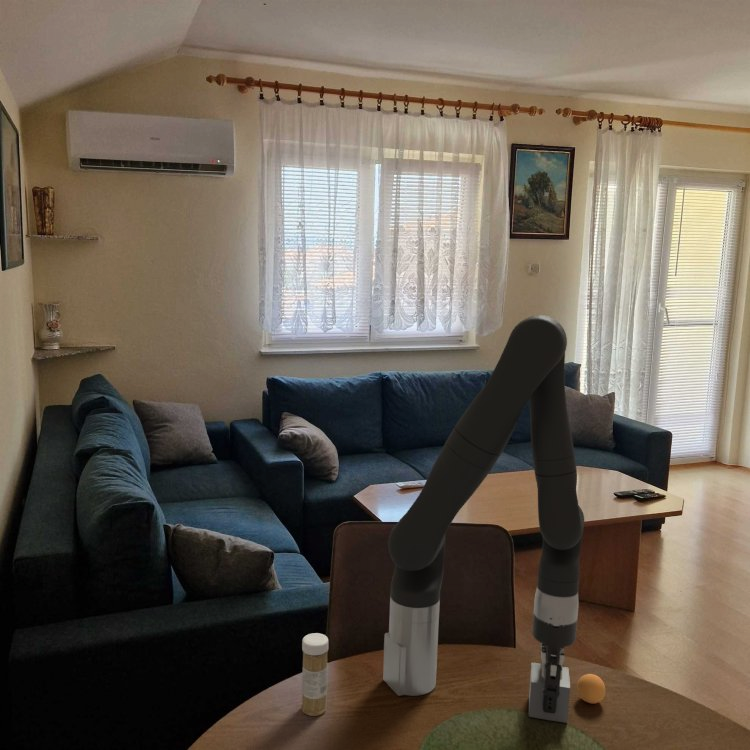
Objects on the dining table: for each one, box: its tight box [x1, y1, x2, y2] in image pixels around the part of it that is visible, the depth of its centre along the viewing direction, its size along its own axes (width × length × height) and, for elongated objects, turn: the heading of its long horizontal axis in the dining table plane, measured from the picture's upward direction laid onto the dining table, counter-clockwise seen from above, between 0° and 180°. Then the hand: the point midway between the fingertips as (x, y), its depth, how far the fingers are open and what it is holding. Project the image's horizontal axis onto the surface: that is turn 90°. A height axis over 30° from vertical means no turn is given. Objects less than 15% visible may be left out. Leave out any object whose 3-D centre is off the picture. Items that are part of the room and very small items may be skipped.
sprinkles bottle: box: [301, 632, 329, 717], centre depth 127 cm, size 5×5×13 cm
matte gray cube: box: [528, 661, 571, 724], centre depth 129 cm, size 7×7×7 cm
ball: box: [576, 673, 606, 704], centre depth 133 cm, size 5×5×5 cm
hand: (548, 699), depth 129 cm, fingers closed on matte gray cube, 6 cm apart
